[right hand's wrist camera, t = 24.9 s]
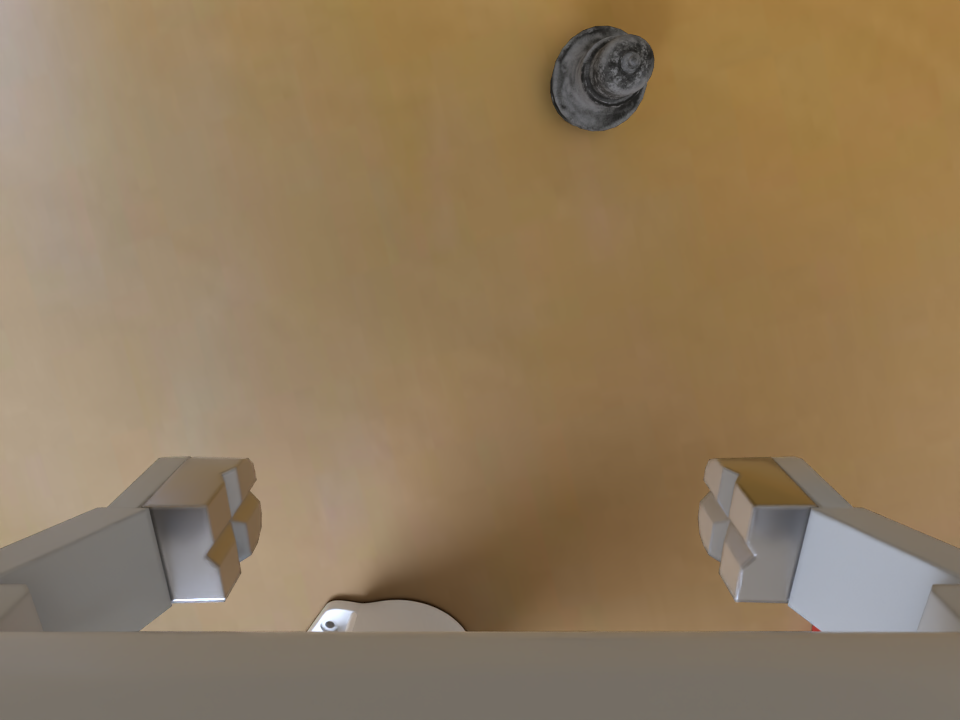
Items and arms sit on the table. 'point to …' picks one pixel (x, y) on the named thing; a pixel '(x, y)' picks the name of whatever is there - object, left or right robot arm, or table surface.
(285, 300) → the table surface
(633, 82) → the dark grey tapered piece
